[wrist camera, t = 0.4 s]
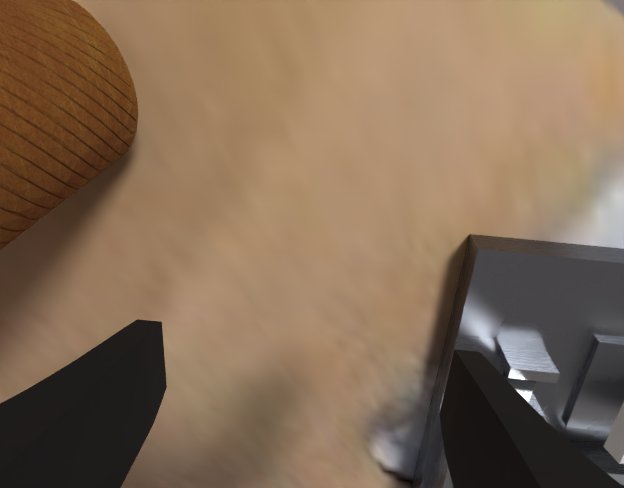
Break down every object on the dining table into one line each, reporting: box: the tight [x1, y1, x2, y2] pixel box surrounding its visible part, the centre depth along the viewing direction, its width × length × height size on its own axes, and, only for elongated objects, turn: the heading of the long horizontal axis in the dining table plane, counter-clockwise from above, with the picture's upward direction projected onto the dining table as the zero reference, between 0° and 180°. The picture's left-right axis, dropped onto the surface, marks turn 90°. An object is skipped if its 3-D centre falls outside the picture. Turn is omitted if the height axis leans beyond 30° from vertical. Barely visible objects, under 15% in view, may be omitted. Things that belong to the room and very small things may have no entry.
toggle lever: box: [504, 374, 537, 403], centre depth 19 cm, size 2×2×5 cm
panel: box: [411, 234, 624, 488], centre depth 23 cm, size 18×12×3 cm
